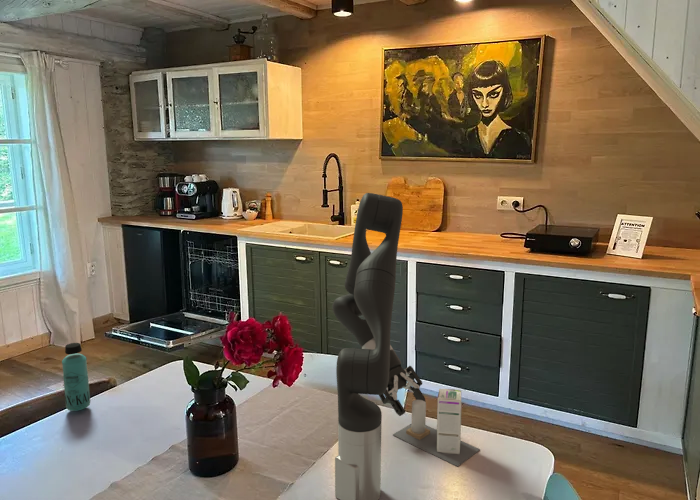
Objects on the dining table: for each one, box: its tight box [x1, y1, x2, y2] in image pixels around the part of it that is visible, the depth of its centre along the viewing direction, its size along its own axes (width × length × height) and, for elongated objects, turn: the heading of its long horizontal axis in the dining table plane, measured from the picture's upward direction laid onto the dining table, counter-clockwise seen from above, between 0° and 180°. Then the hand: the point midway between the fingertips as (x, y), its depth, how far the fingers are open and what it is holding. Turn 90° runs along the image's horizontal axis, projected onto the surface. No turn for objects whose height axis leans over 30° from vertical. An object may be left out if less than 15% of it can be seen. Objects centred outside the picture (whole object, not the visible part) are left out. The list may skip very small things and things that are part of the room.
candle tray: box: [392, 399, 481, 467], centre depth 139 cm, size 10×20×9 cm, turn 46°
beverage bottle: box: [61, 342, 91, 412], centre depth 154 cm, size 6×7×20 cm
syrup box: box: [436, 388, 462, 454], centre depth 136 cm, size 6×6×14 cm
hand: (413, 408), depth 144 cm, fingers open, 8 cm apart
